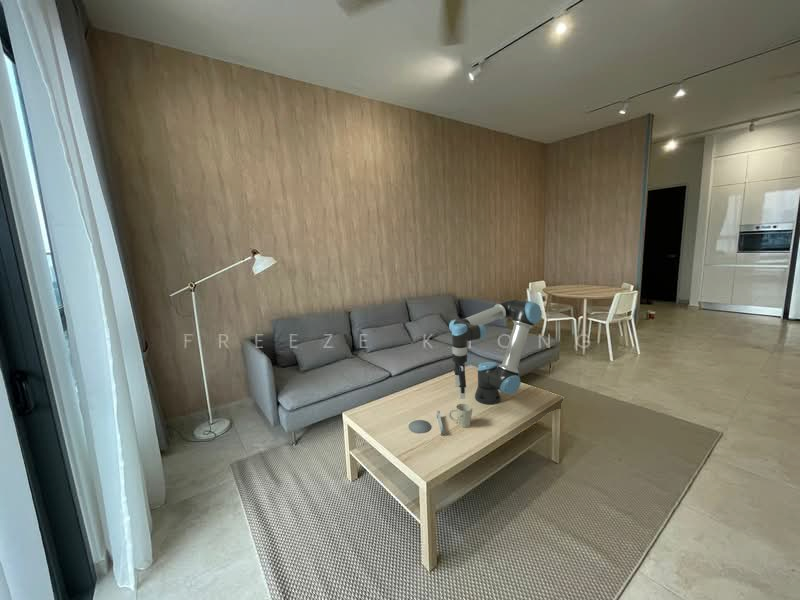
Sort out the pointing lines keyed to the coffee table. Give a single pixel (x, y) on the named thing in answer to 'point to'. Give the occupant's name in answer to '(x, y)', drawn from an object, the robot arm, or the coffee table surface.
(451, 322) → the robot arm
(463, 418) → the mug
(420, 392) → the coffee table surface
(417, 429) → the coaster
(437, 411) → the fence
